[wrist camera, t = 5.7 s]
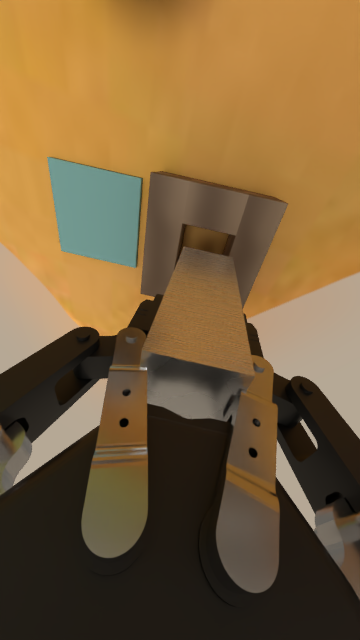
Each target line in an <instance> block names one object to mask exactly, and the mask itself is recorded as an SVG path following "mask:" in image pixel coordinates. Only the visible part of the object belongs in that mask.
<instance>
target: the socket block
mask: <svg viewBox="0 0 360 640" xmlns="http://www.w3.org/2000/svg"><path fill="white" fill-rule="evenodd" d="M287 205H288V204H287V203H285V202H283V201H281V200H279V199H277V198H275V197H272V196H267V195H263V194H258V193H254V192H250V191H245V190H241V189H237V188H232V187H228V186H224V185H219V184H215V183H211V182H206V181H202V180H198V179H193V178H189V177H185V176H180V175H176V174H172V173H167V172H163V171H160V172H151V175H150V187H149V199H148V211H147V223H146V235H145V247H144V259H143V271H142V283H141V294H145V295H149V296H153V297H155V296H156V294H161V295H164V294H165V292H166V289H167V287H168V284H169V282H170V279H171V277H172V274H173V272H174V269H175V267H176V265H177V262H178V260H179V257H180V251H181V246H182V241H183V235H184V230H185V225H186V224H187V225H192V226H196V227H200V228H205V229H209V230H213V231H218V232H222V233H227V234H229V236H228V239H227V243H226V246H225V249H224V252H223V255H224V256H229V257H233V261H234V266H235V272H236V277H237V282H238V288H239V293H240V298H241V304H242V309H243V307H244V304H245V302H246V300H247V298H248V295H249V293H250V291H251V288H252V286H253V284H254V281H255V279H256V277H257V275H258V272H259V270H260V268H261V265H262V263H263V261H264V258H265V256H266V254H267V252H268V249H269V247H270V245H271V242H272V240H273V238H274V235H275V233H276V231H277V228H278V226H279V224H280V222H281V219H282V217H283V215H284V212H285V210H286V208H287Z"/></svg>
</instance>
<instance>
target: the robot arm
mask: <svg viewBox="0 0 360 640" xmlns="http://www.w3.org/2000/svg"><path fill="white" fill-rule="evenodd" d="M163 296H164V295H161V294H156V296H155V298H154V300H153V301H151V300H145V301H143V302H142V303H141V304H140V306H139V307H138V309H137V311H136V313H135V315H134V316H133V318H132V320H131V322H130V324H129V325H128V327H127V328H125V329H122V330H121V331H119V332H118V334H117V335H115V336H99V333H98V331H97V330H95V329H94V328H91V327H79V328H76V329H74V330H72V331H70V332H68V333H67V334H65V335H64V336H62V337H60V338H59V339H57V340H55V341H54V342H52V343H50V344H49V345H47V346H46V347H44V348H42V349H41V350H39V351H37V352H36V353H34V354H32V355H31V356H29V357H28V358H26V359H25V360H23V361H21V362H19V363H18V364H16V365H15V366H13V367H11V368H10V369H8V370H7V371H5V372H3V373H2V374H0V640H360V439H359V438H358V437H357V435H356V434H355V433H354V432H353V430H352V429H351V428H350V427H349V425H348V424H347V423H346V422H345V420H344V419H343V418H342V417H341V416H340V414H339V413H338V412H337V410H336V409H335V408H334V407H333V405H332V404H331V403H330V401H329V400H328V399H327V398H326V396H325V395H324V394H323V393H322V391H321V390H320V389H319V388H318V387H317V385H315V384H314V383H313V382H312V381H310V380H309V379H307V378H305V377H301V376H295V377H293V378H292V379H291V380H288V379H285V378H283V377H281V376H279V375H277V374H276V373H274V371H273V367H272V366H271V364H270V363H269V362H268V361H267V360H265V359H264V358H263V354H262V350H261V346H260V343H259V338H258V334H257V330H256V329H255V327H254V326H253V325H252V324H251V323H247V319H246V315H245V314H244V320H245V325H246V331H247V336H248V341H249V347H250V352H251V357H252V363H253V368H254V373H255V377H254V379H253V381H252V382H251V384H250V385H249V387H248V389H247V390H244V389H241V388H239V389H238V391H237V393H236V395H235V397H234V399H233V402H232V404H231V406H230V407H229V409H228V411H227V413H226V414H225V416H223V417H222V419H221V420H217V419H212V418H203V419H187V418H184V417H182V416H180V415H178V414H176V413H174V412H172V411H170V410H168V409H166V408H164V407H161V406H156V405H152V404H148V403H147V367H146V366H140V361H141V351H142V348H143V346H144V343H145V341H146V338H147V336H148V333H149V331H150V328H151V326H152V324H153V321H154V319H155V316H156V314H157V311H158V309H159V306H160V304H161V301H162V299H163ZM102 378H108V381H107V387H106V392H105V398H104V403H103V409H102V415H101V421H100V425H99V426H97V427H96V428H95V429H93V430H92V431H90V432H89V433H88V434H86V435H85V436H83V437H82V438H80V439H79V440H78V441H76V442H75V443H73V444H72V445H71V446H69V447H68V448H66V449H65V450H63V451H62V452H61V453H59V454H58V455H57V456H55V457H54V458H52V459H51V460H49V461H48V462H47V463H45V464H44V465H42V466H41V467H39V468H38V469H37V470H35V471H34V472H32V473H31V474H30V475H28V476H27V477H25V478H24V479H22V480H21V481H20V482H18V483H17V484H16V485H14V486H13V483H14V481H15V478H16V476H17V474H18V473H19V471H20V470H21V469H22V468H23V466H24V465H25V464H26V463H27V461H28V460H29V457H30V455H31V452H32V444H31V443H32V442H33V441H34V440H36V439H37V438H38V437H39V436H40V435H41V434H42V433H43V432H44V431H45V430H46V429H47V428H48V427H49V426H50V425H51V424H53V422H55V421H56V420H57V419H58V418H59V417H60V416H61V415H62V414H63V413H64V412H65V411H67V410H68V409H69V408H70V407H71V406H72V405H73V404H74V403H75V402H76V401H77V400H78V399H79V398H80V397H81V396H82V395H84V394H85V393H86V392H87V391H88V390H89V389H90V388H91V387H92V386H93V385H94V384H95V383H96V382H97V381H98V380H99V379H102ZM302 419H303V420H304V421H305V423H306V424H307V426H308V428H309V429H310V431H311V432H312V434H313V435H314V437H315V439H316V441H317V444H318V449H316V447H315V445H314V444H313V442H312V441H311V439H310V437H309V436H308V435H307V433H306V431H305V429H304V428H303V426H302V425H301V423H300V421H301V420H302ZM277 440H278V442H279V444H280V446H281V448H282V450H283V452H284V454H285V456H286V458H287V460H288V462H289V464H290V466H291V468H292V470H293V472H294V474H295V476H296V478H297V480H298V481H299V483H300V485H301V487H302V489H303V491H304V493H305V495H306V497H307V499H308V501H309V503H310V505H311V507H312V509H313V511H314V513H315V525H316V528H315V530H314V531H313V529H312V528H311V526H310V525H309V524H308V522H307V521H306V519H305V518H304V516H303V515H302V514H301V512H300V511H299V509H298V508H297V506H296V505H295V504H294V502H293V501H292V499H291V498H290V497H289V495H288V494H287V492H286V491H285V489H284V488H283V486H282V485H281V484H280V482H279V481H278V479H277V478H276V445H277Z"/></svg>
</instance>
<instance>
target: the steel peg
mask: <svg viewBox="0 0 360 640" xmlns="http://www.w3.org/2000/svg"><path fill="white" fill-rule="evenodd" d="M140 366H146V367H147V403H148V404H152V405H156V406H161V407H164V408H166V409H168V410H170V411H172V412H174V413H176V414H178V415H180V416H182V417H184V418H187V419H203V418H212V419H217V420H221V419H222V417H223V416H225V414H226V413H227V411H228V409H229V407H230V406H231V404H232V402H233V399H234V397H235V395H236V393H237V391H238V389H239V388H241V389H244V390H247V389H248V387H249V385H250V384H251V382H252V381H253V379H254V377H255V373H254V368H253V363H252V357H251V352H250V347H249V341H248V336H247V331H246V325H245V320H244V314H243V309H242V304H241V298H240V293H239V288H238V282H237V277H236V272H235V266H234V261H233V257H229V256H224V255H220V254H215V253H211V252H207V251H202V250H198V249H194V248H189V247H185V246H184V247H183V250H182V252H181V255H180V257H179V260H178V262H177V265H176V267H175V269H174V272H173V274H172V277H171V279H170V282H169V284H168V287H167V289H166V292H165V294H164V296H163V299H162V301H161V304H160V306H159V309H158V311H157V314H156V316H155V319H154V321H153V324H152V326H151V328H150V331H149V333H148V336H147V338H146V341H145V343H144V346H143V348H142V351H141V361H140Z"/></svg>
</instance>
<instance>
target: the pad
mask: <svg viewBox="0 0 360 640" xmlns="http://www.w3.org/2000/svg"><path fill="white" fill-rule="evenodd" d="M47 158H48V165H49V172H50V178H51V185H52V191H53V198H54V205H55V211H56V218H57V225H58V231H59V238H60V244H61V251H64V252H68V253H73V254H77V255H82V256H86V257H90V258H95V259H99V260H103V261H108V262H112V263H117V264H121V265H125V266H130V267H134V268H136V267H137V256H138V241H139V226H140V211H141V196H142V181H143V178H139V177H135V176H130V175H126V174H122V173H117V172H113V171H109V170H104V169H100V168H95V167H91V166H87V165H82V164H78V163H74V162H69V161H65V160H61V159H56V158H52V157H47Z"/></svg>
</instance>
